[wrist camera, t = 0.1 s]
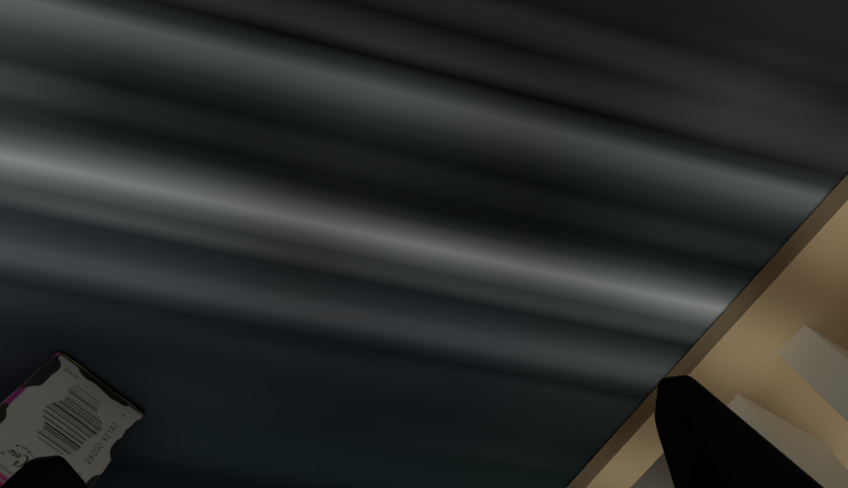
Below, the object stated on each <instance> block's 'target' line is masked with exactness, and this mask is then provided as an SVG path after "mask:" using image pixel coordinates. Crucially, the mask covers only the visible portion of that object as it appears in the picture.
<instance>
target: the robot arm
mask: <svg viewBox="0 0 848 488" xmlns="http://www.w3.org/2000/svg"><path fill="white" fill-rule="evenodd" d="M654 415H655V424H656V428H657V432H658V435H659V438H660V442H661V445H662V448H663V452H664V455H665V458H666V461H667V465H668V468H669V471H670V474H671V478H672V481H673V484H674V487H675V488H824V487H823V486H822V485H820V484H819V483H818V482H817V481H816V480H815V479H813V478H812V477H811V476H810V475H809V474H807V473H806V472H805V471H804V470H803V469H801V468H800V467H799V466H798V465H797V464H795V463H794V462H793V461H792V460H791V459H789V458H788V457H787V456H786V455H785V454H784V453H782V452H781V451H780V450H779V449H778V448H776V447H775V446H774V445H773V444H772V443H770V442H769V441H768V440H767V439H766V438H764V437H763V436H762V435H761V434H760V433H758V432H757V431H756V430H755V429H754V428H752V427H751V426H750V425H749V424H748V423H747V422H745V421H744V420H743V419H742V418H741V417H739V416H738V415H737V414H736V413H735V412H733V411H732V410H731V409H730V408H729V407H727V406H726V405H725V404H724V403H723V402H721V401H720V400H719V399H718V398H717V397H716V396H714V395H713V394H712V393H711V392H710V391H708V390H707V389H706V388H705V387H704V386H702V385H701V384H700V383H699V382H698V381H696V380H695V379H694V378H692V377H691V376H688V375H680V376H672V377H665V378H662V379H661V380H660V381H659V384H658V390H657V398H656V405H655V414H654ZM0 488H87V485H86V483H85V482H84V480H83V479H82V478H81V477H80V476H79V474H78V473H77V472H76V471H75V470H74V469H73V467H72V466H71V465H70V464H69V463H68V461H67V460H66V459H65V458H63V457H62V456H59V455H53V456H45V457H38V458H34V459H31V460H30V461H28V462H27V463H26V464H24V465H23V466H22V467H21V468H20V469H19V470H18V471H17V472H16V473H14V474H13V475H12V476H11V477H10V478H9V479H8V480H7V481H6V482H5V483H4V484H3V485H2V486H0Z"/></svg>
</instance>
